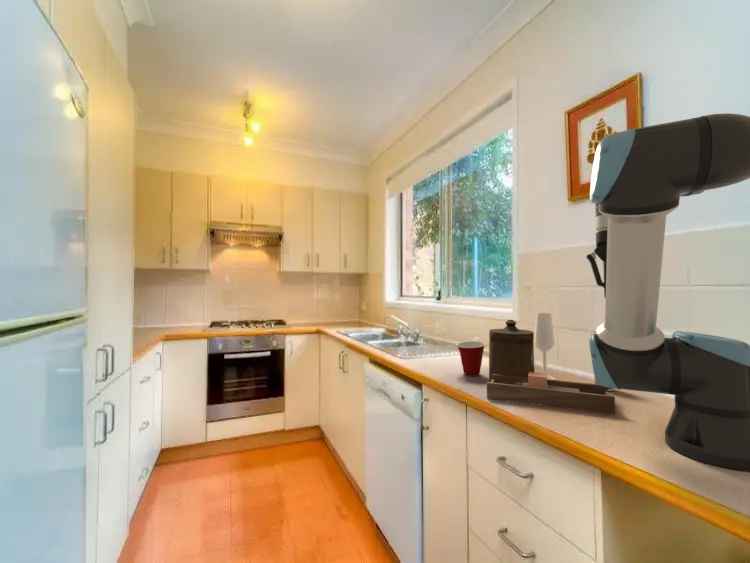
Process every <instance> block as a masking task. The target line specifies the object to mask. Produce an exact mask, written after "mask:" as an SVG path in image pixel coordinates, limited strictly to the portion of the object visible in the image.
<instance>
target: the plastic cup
mask: <svg viewBox="0 0 750 563" xmlns="http://www.w3.org/2000/svg"><path fill="white" fill-rule="evenodd" d="M456 347H457V348H458V351H459V356H460V361H461V365H462V370H463V374H464V375H465V376H471V377H476V376H479V375H480V374H481V369H482V368H481V367H482V363H483V355H484V349H485V347H486V343H485V342H482V341H471V340H470V341H461V342H458V343H456Z"/></svg>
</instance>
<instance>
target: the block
mask: <svg viewBox="0 0 750 563" xmlns="http://www.w3.org/2000/svg"><path fill="white" fill-rule="evenodd" d="M547 374H548V373H547ZM547 374H544V373H543V372H542V373H541V372H534V373H533V372H529V374H528V386H529V387H539V388H547Z"/></svg>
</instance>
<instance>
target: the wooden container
mask: <svg viewBox="0 0 750 563" xmlns="http://www.w3.org/2000/svg"><path fill="white" fill-rule="evenodd" d="M516 324H517V322H516V320H514V319H508V320H506V321H505V327H503V328H493V329H489V332H488V333H489V334H488V335H489V336H488V337H489V342H488V352H489V353H488V380H489V381H488V382H491V380H492V374H499V375H509V376H520V377H528V374H529V372H533V373H535V355H534V354H535V353H534V348H535V347H534V346H535V344H534V338H535V331H533V330H529V329H522V328H521V329H520V328H518V327H517V325H516Z"/></svg>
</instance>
